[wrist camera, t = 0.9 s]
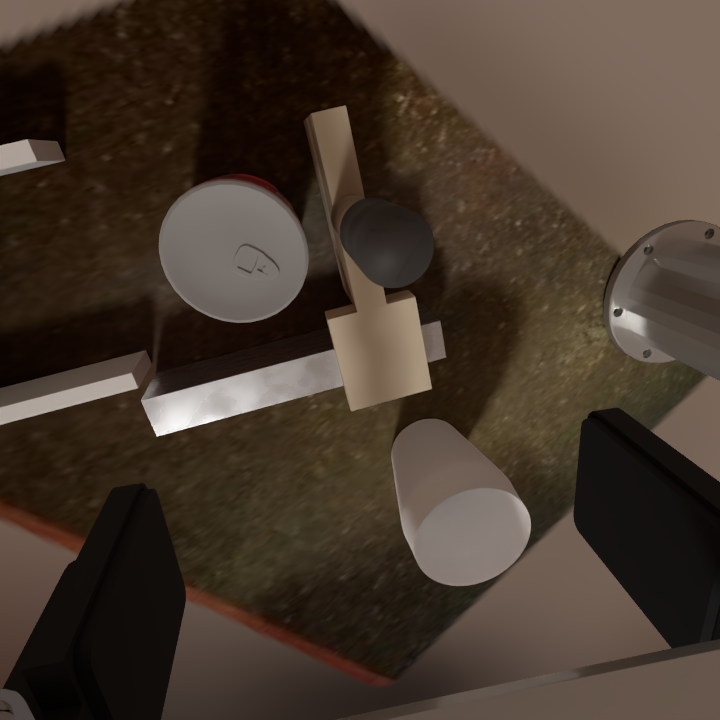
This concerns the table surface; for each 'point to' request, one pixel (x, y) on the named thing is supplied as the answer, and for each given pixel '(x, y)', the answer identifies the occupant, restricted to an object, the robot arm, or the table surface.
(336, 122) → the kicker figure
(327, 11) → the table surface
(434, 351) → the rail
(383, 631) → the table surface
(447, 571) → the cup
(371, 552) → the table surface
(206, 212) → the canned food
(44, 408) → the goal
